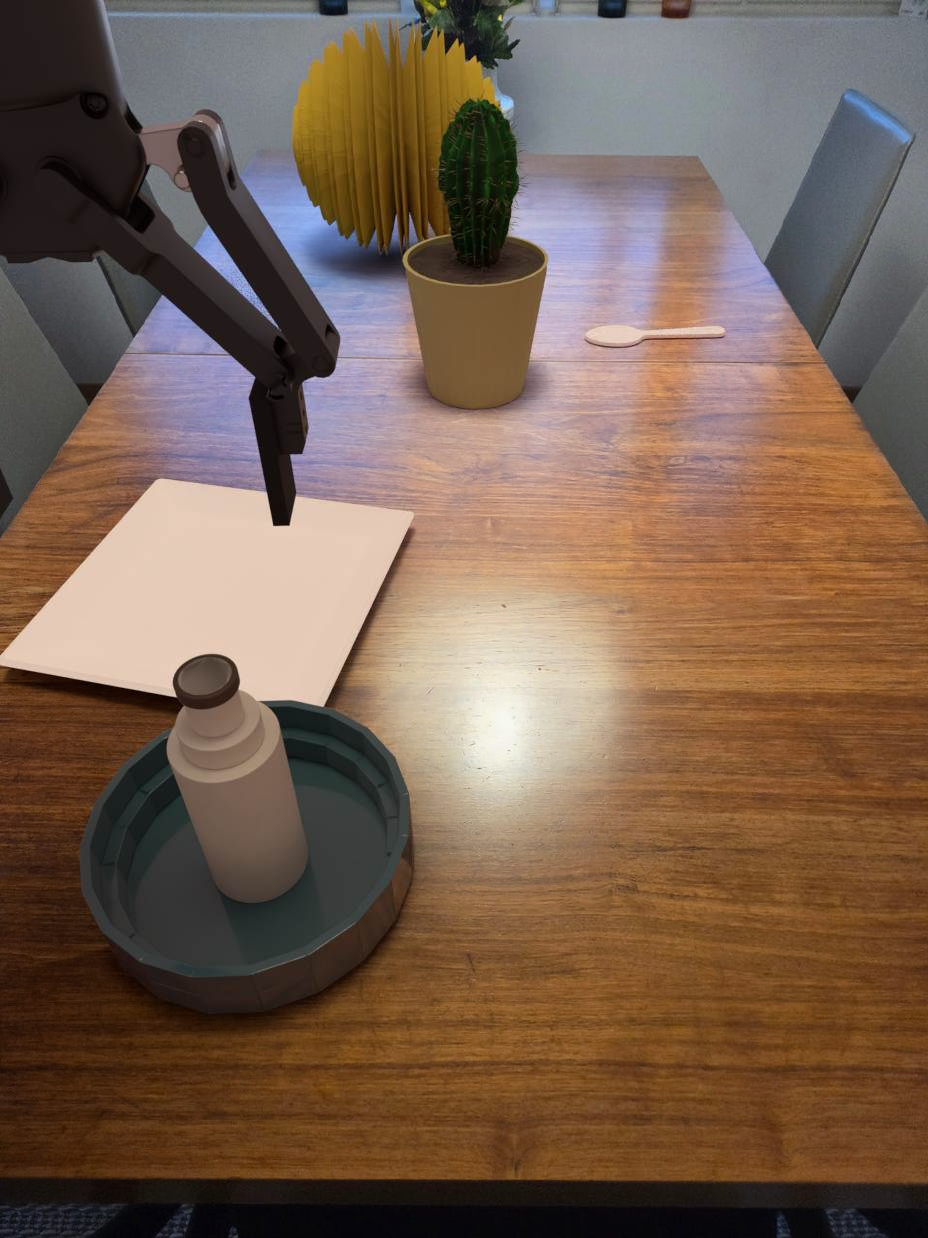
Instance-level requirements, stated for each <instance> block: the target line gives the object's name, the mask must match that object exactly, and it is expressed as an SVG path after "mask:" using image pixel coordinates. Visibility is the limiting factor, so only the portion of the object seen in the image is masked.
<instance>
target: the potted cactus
mask: <svg viewBox="0 0 928 1238" xmlns="http://www.w3.org/2000/svg"><path fill="white" fill-rule="evenodd" d="M484 90H485V89H484ZM483 93H484V92H483ZM482 96H483V94H482ZM482 96H481V98H482ZM473 98H474V97H473ZM455 99H456V98H455ZM459 99H460V98H459ZM460 101H461V100H460ZM464 101H465V100H464ZM490 101H491V100H490ZM457 103H459V102H458V101H457ZM461 103H462V102H461ZM459 104H460V103H459ZM451 105H452V104H451ZM499 105H500V106H501V101H500V102H499V104H498V107H499V108H500V106H499ZM460 106H461V104H460ZM456 107H457V106H456ZM498 107H496V106H495V104H490V103H489V101H488V100H487V98H486V100H485V99H483V100H482V101H481V100H480V101H479V98H478V99H477V102H476V101H473V99H471V98H470V99H469V100H467V101H466V103H464V104H463V105H462V106H461V107H460V109H459V108H458V107H457V108H458V109H459V111H458V112H456V113H455V114H456V115H454V114H452V113H451V114H452V116H453V115H454V116H455V117H454V116H453V118H452V117H451V119H454V118H455V120H454V121H452V122H450V124H449V127H447V130H446V133H445V134H444V135H443V138H442V142H441V143H442V144H441V155H440V157H439V167H438V170H439V171H438V173H437V171H435V169H437V168H432V169H430V170H434V171H435V173H437V174H438V176H437V175H436V177H438V182H437V184H438V185H436V186H438V188H439V189H438V188H437V189H438V190H439V191H441V192H442V193H443V194H442V195H441V196H443V195H444V199H445V200H444V199H443V200H444V201H445V204H446V206H442V208H443V207H448V211H445V212H446V214H448V215H449V223H448V222H446V223H445V225H446V224H447V223H448V224H449V227H448V226H446V227H445V228H447V227H448V228H449V231H448V232H449V234H446V235H442V236H438V237H436V236H434V237H429V239H427V240H424V239H423V241H422V242H417V243H416V244H414V245H412V246H410V247H409V249H408V250H407V249H406V251H405V253H403V256H402V264H403V267H404V268H405V269H404V270H405V277H406V281H407V282H406V283H407V286H408V291H409V297H410V301H411V307H412V312H413V317H414V318H413V319H414V322H415V328H416V332H417V337H418V344H419V348H420V353H421V357H422V358H421V359H422V365H423V370H424V375H425V380H426V385H427V388H428V390H429V393H430V394H431V395H432V397H433V398H435V399H436V400H438V401H439V402H440V403H443V404H445V405H448V406H451V407H455V408H460V409H469V410H482V409H483V410H485V409H491V408H497V407H500V406H503V405H506V404H508V403H511V402H513V401H514V400H515V399H517V398H519V396H520V395H521V394H522V392H523V390H524V386H525V383H526V380H527V379H526V378H527V373H528V367H529V363H530V357H531V353H532V347H533V343H534V337H535V333H536V328H537V322H538V317H539V313H540V306H541V301H542V297H543V292H544V287H545V282H546V278H547V277H546V276H547V269H548V263H549V255H548V254H547V252H546V251H545V249H543V248H542V246H540V245H538V244H536V243H534V242H533V241H531V240H527V239H525V238H522V237H518V236H514V235H510V234H509V232H511V231H513V228H511V229H510V226H511V227H512V226H513V227H514V226H516V227H517V226H519V225H518V222H516V221H514V223H511V219H513V216H512V211H513V210H514V211H516V210H521V208H518V206H519V203H518V201H517V200H516V198H517V195H519V196H521V194H524V192H522V188H520V186H521V187H523V188H527V185H529V184H532V183H531V182H528V183H524V181H526V180H527V178H526V176H528V175H529V174H526V175H524V176H521V177H520V176H519V174H518V172H520V171H524V169H522V168H521V167H520V165H519V164H523V161H520V160H519V158H518V154H520V153H521V152H525V151H526V152H527V150H525V149H524V150H523V149H522V150H521V149H520V150H519V151H518V148H519V147H520V148H521V145H522V144H523V142H522V143H521V142H520V141H521V139H519V137H518V138H516V137H517V136H519V134H518V132H516V133H515V134H514V133H513V132H514V129H516V127H517V125H515V124H514V123H515V120H516V118H518V117H519V116H520V114H518V116H516V117H514V116H512V117H511V118H510V119H508V118H509V115H510V114H511V113H510V111H511V110H513V108H514V107H513V108H511V109H510V108H509V109H508V110H507V111H506V113H504V112H503V111H502V112H501V111H500V110H499V108H498ZM453 108H454V107H453ZM453 108H451V109H452V110H453ZM454 110H455V109H454ZM454 110H453V111H454ZM455 111H456V110H455ZM455 111H454V112H455ZM448 112H449V111H448ZM449 114H450V112H449ZM505 115H506V116H505ZM444 117H445V116H444ZM449 117H450V116H449ZM445 119H446V118H445ZM446 120H447V119H446ZM448 120H449V119H448ZM447 122H448V121H447ZM511 122H512V124H510V123H511ZM440 138H441V137H440ZM435 142H436V141H435ZM437 143H438V142H437ZM520 144H521V145H520ZM432 146H433V145H432ZM525 146H526V144H525V145H524V144H523V145H522V147H525ZM436 147H438V146H436ZM517 147H518V148H517ZM438 153H439V152H438ZM431 155H433V154H431ZM434 156H436V155H434ZM437 157H438V156H437ZM437 160H438V159H437ZM425 171H427V170H425ZM434 171H433V172H434ZM429 172H430V171H429ZM431 173H432V172H431ZM432 174H433V173H432ZM434 175H435V174H434ZM432 179H437V178H432ZM435 181H437V180H435ZM432 182H433V181H432ZM434 184H435V183H433V185H434ZM430 185H431V184H430ZM438 190H437V191H438ZM437 191H436V192H437ZM439 191H438V192H439ZM436 192H435V193H436ZM438 192H437V193H438ZM441 192H440V194H441ZM437 193H436V194H437ZM441 196H440V197H441ZM440 197H439V198H440ZM441 198H442V197H441ZM443 200H442V201H443ZM442 201H441V202H442ZM444 201H443V202H444ZM514 201H515V206H516V207H515V206H514V204H513V203H514ZM443 202H442V203H443ZM442 203H441V204H440V205H442ZM443 204H444V203H443ZM445 204H444V205H445ZM438 206H439V205H438ZM438 206H437V207H438ZM437 207H436V208H437ZM436 208H435V209H436ZM514 208H515V209H514ZM441 210H442V209H441ZM444 210H446V209H444ZM521 211H522V210H521ZM447 212H448V213H447ZM444 214H445V213H444ZM442 215H443V214H442ZM441 217H445V216H441ZM514 218H515V219H519V217H517V216H514ZM447 219H448V218H447ZM447 219H446V220H447ZM520 219H521V220H522V219H523V218H521V217H520ZM442 220H444V219H442ZM444 221H445V220H444ZM442 222H443V221H442ZM448 228H447V229H448ZM442 230H443V229H442Z"/></svg>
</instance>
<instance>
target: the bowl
mask: <svg viewBox="0 0 928 1238" xmlns="http://www.w3.org/2000/svg"><path fill="white" fill-rule="evenodd" d="M259 702H261V703H263V704H264V705H266V706H267V707H268V708H269V709H271V710H272V712H273V713H274V714H275V716H276V717H277V719H278V722H279V725H280V730H281V734H282V738H283V743H284V747H285V751H286V756H287V760H288V764H289V769H290V773H291V777H292V782H293V786H294V790H295V795H296V799H297V803H298V808H299V812H300V816H301V821H302V825H303V829H304V834H305V838H306V843H307V847H308V861H307V865H306V868H305V870H304V873H303V874H302V876H301V878H300V879H299V880H298V882H297V883H296V884H295V885H294V886H293V887H292V888H291V889H289V890H288V891H287V892H285V893H284V894H282V895H281V896H279V897H277V898H274V899H272V900H269V901H265V902H260V903H243V902H239V901H236V900H233V899H231V898H229V897H227V896H226V895H225V894H223V893H222V892H221V891H220V890H219V888H218V887H217V885H216V884H215V881H214V879H213V876H212V874H211V871H210V868H209V866H208V863H207V861H206V858H205V855H204V853H203V850H202V847H201V845H200V842H199V839H198V837H197V834H196V831H195V829H194V826H193V823H192V821H191V818H190V815H189V813H188V810H187V807H186V805H185V802H184V799H183V797H182V794H181V792H180V789H179V786H178V784H177V781H176V778H175V776H174V773H173V770H172V768H171V765H170V762H169V760H168V756H167V742H168V738H169V735H170V733H171V731H172V729H173V728H174V726H173V727H171V728H169V729H167V730H166V731H163V732H161V733H159V734H158V735H156V736H155V737H154V738H152V740H150V741H149V742H148V743H147V744H146V745H144V746H143V747H142V748H141V749H139V750H138V751H137V752H135V754H133V755H132V756H131V757H130V758H129V759H127V760H126V761H125V762H124V763H122V765H121V766H120V768H119V769H118V770H117V771H116V773H115V774H114V775H113V777H112V778H111V780H110V781H109V783H108V784H107V785H106V786H105V788H104V789H103V790H102V792H101V793H100V795H99V797H98V798H97V799H96V800H95V802H94V803H93V806H92V809H91V812H90V814H89V818H88V821H87V824H86V827H85V830H84V832H83V835H82V839H81V842H80V844H79V869H80V870H79V871H80V892H81V894H82V897H83V899H84V901H85V902H86V904H87V907H88V908H89V911H90V912H91V914H92V916H93V918H94V920H95V922H96V924H97V926H98V928H99V930H100V933H101V934H102V935H103V938H104V939H105V941H106V942H107V945H108V946H109V947H110V949H111V951H112V953H113V955H114V957H115V958H116V960H117V961H118V964H119V965H120V967H121V968H122V969H123V970H124V971H125V972H126V973H127V974H128V975H129V976H131V977H132V978H133V979H134V980H136V981H137V982H138V983H139V984H140V985H142V986H143V987H144V988H146V989H147V990H148V991H149V992H151V994H153V995H154V996H155V997H156V998H158V999H160V1000H162V1001H166V1002H169V1003H172V1004H176V1005H178V1006H181V1007H185V1008H187V1009H192V1010H195V1011H198V1012H202V1013H205V1014H209V1015H210V1014H213V1015H214V1014H215V1015H216V1014H237V1013H238V1014H240V1013H243V1014H244V1013H263V1012H267V1011H270V1010H273V1009H276V1008H279V1007H282V1006H284V1005H287V1004H290V1003H293V1002H296V1001H299V1000H302V999H305V998H308V997H311V996H314V995H316V994H319V993H320V992H323V990H324V989H326V988H328V987H329V986H331V985H332V984H333V983H335V982H336V981H337V980H339V979H340V978H342V977H343V976H344V975H346V974H347V973H349V972H351V970H353V969H354V968H356V967H357V966H359V965H360V964H362V963H363V962H364V961H365V959H366V958H367V957H368V956H369V954H371V952H372V951H373V949H374V948H375V947H376V946H377V945H378V943H379V942H380V941H381V939H382V938H383V937H384V936H385V935H386V933H387V932H388V931H389V929H390V928H391V927H392V926H393V924H394V923H395V922H396V920H397V918H398V916H399V913H400V910H401V908H402V905H403V902H404V900H405V897H406V894H407V892H408V889H409V887H410V883H411V881H412V878H413V860H414V859H413V856H414V855H413V854H414V853H413V851H414V849H413V848H414V834H413V833H414V832H413V821H412V809H411V797H410V792H409V789H408V786H407V784H406V781H405V779H404V776H403V774H402V771H401V769H400V766H399V763H398V761H397V758H396V756H395V755H394V754H393V753H392V752H391V751H390V750H389V749H388V748H387V746H385V744H384V743H383V742H382V741H381V740H380V739H379V738H378V736H376V734H375V733H374V732H373V731H372V730H371V729H370V728H369V727H368V726H365V725H363V724H362V723H360V722H358V721H356V720H355V719H352V718H351V717H348V716H347V715H345V714H343V713H342V712H339V711H338V710H336V709H334V708H331V707H326V706H324V707H322V706H317V705H312V704H308V703H303V702H299V701H294V700H275V701H259Z"/></svg>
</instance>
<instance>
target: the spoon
mask: <svg viewBox="0 0 928 1238" xmlns="http://www.w3.org/2000/svg"><path fill="white" fill-rule="evenodd" d="M725 335H726V329H725V327H723V326H721V325H720V326H719V325H707V326H693V327H692V326H688V327H678V328H677V327H676V328H666V329H665V328H664V329H663V328H660V329H659V328H657V329H649V330H648V329H646V330H644V329H639V328H637V327H633V326H630V325H624V324H608V325H602V326H598V327H593V328H591V329H588V330H587V331H586V332H585V334H584V339H585V340H586V341H587V342H589V343H591V344H593V345H598V346H604V347H616V348H617V347H621V348H622V347H630V346H634V345H637V344H640V343H641V342H642V341H644V340H645V339H687V338H690V339H692V338H697V339H698V338H721V337H724V336H725Z"/></svg>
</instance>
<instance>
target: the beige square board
mask: <svg viewBox="0 0 928 1238" xmlns="http://www.w3.org/2000/svg"><path fill="white" fill-rule="evenodd" d="M414 517H415V513H414V512H413V511H409V510H404V509H403V510H402V509H396V508H395V509H394V508H387V507H379V506H371V505H364V504H359V503H358V504H356V503H350V502H343V501H334V500H328V499H327V500H326V499H320V498H311V497H304V496H297V495H296V497H295V502H294V507H293V512H292V517H291V521H290V526H273V522H272V517H271V512H270V507H269V502H268V496H267V491H259V490H251V489H246V488H245V489H244V488H239V487H238V488H237V487H229V486H222V485H215V484H206V483H201V482H200V483H199V482H192V481H185V480H184V481H183V480H177V479H169V478H163V477H162V478H161V477H160V478H159V479H156V480H154V481H153V483H152V484H151V485H150V486H149V487H148V489H146V491H145V492H144V493H143V494H142V495H141V496H140V498H138V500H137V501H136V502H135V503H134V504H133V505H132V507H130V509H129V510H128V511H127V512H126V513H125V514H124V515H123V516H122V518H121V519H120V520H119V521H118V522H117V523H116V524H115V526H114V527H113V528H112V529H111V530H110V531H109V532H108V533H107V534H106V535H105V537H104V538H103V539H102V540H101V541H100V543H99V544H98V545H97V546H96V547H95V548H94V549H93V550H92V551H91V553H89V555H88V556H87V557H86V558H85V560H84V561H82V563H81V564H80V565H79V566H78V568H76V570H74V572H72V574H71V575H70V576H69V577H68V579H67V580H66V581H65V582H64V583H63V584H62V585H61V586H60V588H59V589H57V591H56V592H55V593H54V594H53V595H52V596H51V598H50V599H49V600H48V601H47V602H46V603H45V604H44V606H43V607H41V609H40V610H39V611H38V612H37V613H36V615H35V616H34V617H33V618H32V619H31V620H30V621H29V622H28V623H27V624H26V626H25V627H24V628H23V629H22V630H21V631H20V632H19V634H18V635H16V636H15V638H14V639H13V641H11V643H9V645H8V646H7V647H6V648H5V650H4V651H3V652H2V653H1V654H0V666H1V667H7V668H11V669H12V668H13V669H18V670H25V671H30V672H33V673H34V672H36V673H40V674H46V675H52V676H57V677H61V678H62V677H63V678H68V679H72V680H73V679H74V680H79V681H85V682H91V683H95V684H101V685H106V686H113V687H117V688H124V689H128V690H135V691H139V692H140V691H141V692H145V693H151V694H157V695H162V696H166V697H173V698H177V696H176V693H175V690H174V688H173V677H174V674H175V672H176V671H177V669H178V668H179V667H180V666H181V665H182V664H183V663H185V662H186V661H188V660H190V659H192V658H194V657H196V656H200V655H204V654H219V655H223V656H226V657H228V658H230V659H231V660H232V661H233V662H234V663H235V665H236V666H237V669H238V673H239V677H240V685H239V688H238V689H239V690H242V691H244V692H247V693H248V694H250V695H251V696H252V697H253V698H254V699H255V700H256V701H275V700H294V701H299V702H303V703H308V704H312V705H317V706H322V707H325V704H326V703H327V701H328V698H329V696H330V694H331V692H332V689H333V688H334V687H335V683H336V681H337V679H338V677H339V675H340V673H341V671H342V669H343V667H344V665H345V663H346V660H347V658H348V656H349V654H350V652H351V650H352V648H353V645H354V643H355V641H356V639H357V637H358V635H359V634H360V631H361V629H362V626H363V624H364V623H365V620H366V618H367V616H368V614H369V612H370V609H371V608H372V605H373V603H374V601H375V599H376V597H377V595H378V594H379V590H380V589H381V587H382V585H383V582H384V580H385V579H386V576H387V575H388V572H389V570H390V568H391V566H392V563H393V561H394V559H395V557H396V555H397V553H398V551H399V549H400V547H401V544H402V542H403V540H404V538H405V536H406V534H407V532H408V530H409V528H410V525H411V523H412V522H413V519H414Z"/></svg>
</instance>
